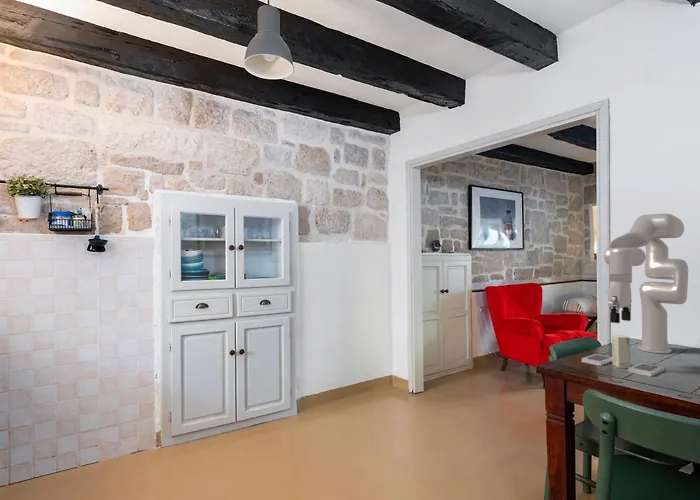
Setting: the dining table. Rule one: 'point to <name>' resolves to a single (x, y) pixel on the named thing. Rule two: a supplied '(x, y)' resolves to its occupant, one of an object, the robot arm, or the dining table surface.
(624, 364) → the skincare box
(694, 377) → the dining table surface
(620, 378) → the dining table surface
